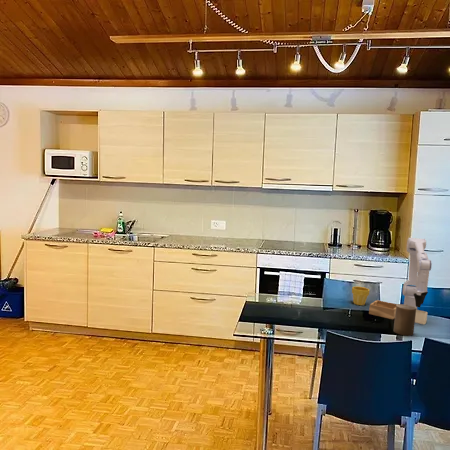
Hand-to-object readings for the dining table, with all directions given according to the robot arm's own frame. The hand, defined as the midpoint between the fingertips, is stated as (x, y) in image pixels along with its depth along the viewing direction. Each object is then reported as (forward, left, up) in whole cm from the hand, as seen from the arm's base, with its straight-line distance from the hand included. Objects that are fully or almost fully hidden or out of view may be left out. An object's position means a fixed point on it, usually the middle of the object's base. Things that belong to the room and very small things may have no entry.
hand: (419, 305), depth 258 cm
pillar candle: (+25, -1, -10) cm, 27 cm away
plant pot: (-11, -36, -10) cm, 39 cm away
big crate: (-1, -18, -9) cm, 21 cm away
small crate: (-1, +1, -10) cm, 10 cm away
